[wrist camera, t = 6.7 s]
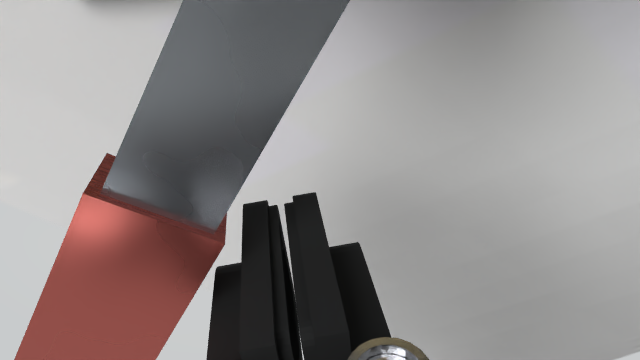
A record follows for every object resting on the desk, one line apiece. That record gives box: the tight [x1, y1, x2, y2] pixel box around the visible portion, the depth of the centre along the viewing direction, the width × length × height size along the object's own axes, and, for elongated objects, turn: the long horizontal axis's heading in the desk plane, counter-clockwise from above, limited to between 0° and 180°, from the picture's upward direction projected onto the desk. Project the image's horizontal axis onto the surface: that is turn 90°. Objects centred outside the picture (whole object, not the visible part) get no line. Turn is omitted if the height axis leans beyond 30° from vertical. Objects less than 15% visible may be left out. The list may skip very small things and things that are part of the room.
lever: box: [14, 0, 350, 360], centre depth 6 cm, size 16×3×1 cm, turn 149°
